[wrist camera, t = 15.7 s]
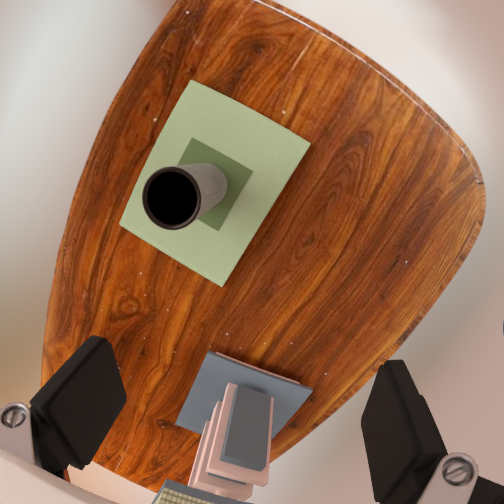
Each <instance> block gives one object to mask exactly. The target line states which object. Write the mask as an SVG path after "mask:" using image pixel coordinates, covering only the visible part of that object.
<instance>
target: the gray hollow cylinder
mask: <svg viewBox="0 0 504 504" xmlns="http://www.w3.org/2000/svg"><path fill="white" fill-rule="evenodd" d="M226 191H227V179H226V176H225V174H224V172H223V171H222V170H221V169H220V168H219V167H217V166H216V165H213V164H210V163H197V164H187V165H177V166H168V167H163V168H161V169H158V170H157V171H155V172H154V173H153V174H151V176H150V177H149V178H148V179H147V181H146V183H145V185H144V188H143V192H142V203H143V208H144V210H145V213H146V214H147V216H148V218H149V219H150V220H151V221H152V222H153V223H154V224H155V225H157V226H159V227H161V228H163V229H166V230H179V229H183V228H185V227H187V226H188V225H190V224H191V223H193V222H194V221H195V220H197V219H198V218H199V217H200V216H202V215H203V214H204V213H206V212H207V211H208V210H210V209H211V208H213V207H214V206H215V205H217V204H218V203H219V202H220V201H221V200H222V199H223V198H224V196H225V194H226Z"/></svg>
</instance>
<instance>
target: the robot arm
mask: <svg viewBox="0 0 504 504" xmlns="http://www.w3.org/2000/svg"><path fill="white" fill-rule="evenodd" d="M126 399H127V396H126V392H125V389H124V386H123V383H122V380H121V376H120V373H119V370H118V366H117V363H116V359H115V356H114V352H113V349H112V345H111V344H110V343H109V342H108V340H107V339H106V338H103V337H98V336H94V335H93V336H90V337H89V338H88V339H87V340H86V341H85V342H84V343H83V344H82V345H81V346H80V347H79V348H78V349H77V350H76V352H75V353H74V354H73V355H72V356H71V357H70V358H69V359H68V360H67V361H66V362H65V363H64V364H63V365H62V366H61V367H60V369H59V370H58V371H57V372H56V373H55V374H54V375H53V376H52V377H51V378H50V379H49V380H48V382H47V383H46V384H45V385H44V386H43V387H42V388H41V389H40V390H39V392H38V393H37V394H36V395H35V396H34V397H33V398H32V399H31V401H30V404H31V407H30V408H28V407H27V405H25V404H24V403H21V402H12V403H9V404H7V405H5V406H4V407H3V408H2V409H1V410H0V504H118V503H115V502H113V501H110V500H107V499H105V498H102V497H100V496H97V495H95V494H93V493H91V492H88V491H86V490H84V489H82V488H79V487H77V486H75V485H73V484H71V483H70V479H69V475H68V471H67V467H68V465H69V464H70V465H71V466H73V467H75V468H78V469H80V470H83V468H84V467H85V465H88V464H90V462H91V461H92V459H93V457H94V455H95V454H96V452H97V450H98V449H99V447H100V445H101V443H102V442H103V440H104V438H105V437H106V435H107V433H108V432H109V430H110V428H111V426H112V425H113V423H114V421H115V420H116V418H117V416H118V415H119V413H120V411H121V410H122V408H123V406H124V405H125V403H126ZM361 428H362V432H363V437H364V442H365V447H366V453H367V458H368V464H369V469H370V475H371V481H372V487H373V493H374V499H375V501H376V502H380V504H504V486H502V485H500V484H497V483H495V482H492V481H490V480H487V479H485V478H482V477H480V476H478V472H479V471H478V466H477V464H476V462H475V460H474V459H473V458H472V457H471V456H469V455H467V454H465V453H459V452H457V453H451V454H448V453H447V450H446V447H445V445H444V443H443V440H442V438H441V435H440V433H439V430H438V428H437V426H436V423H435V421H434V419H433V416H432V414H431V412H430V410H429V407H428V405H427V403H426V401H425V399H424V397H423V396H422V395H419V393H418V390H417V388H416V386H415V384H414V382H413V380H412V377H411V375H410V373H409V371H408V369H407V367H406V365H405V363H404V361H403V360H387V361H385V363H384V365H380V366H379V369H378V372H377V375H376V379H375V381H374V385H373V387H372V390H371V393H370V396H369V399H368V402H367V404H366V407H365V410H364V412H363V415H362V418H361Z"/></svg>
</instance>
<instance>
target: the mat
mask: <svg viewBox="0 0 504 504" xmlns="http://www.w3.org/2000/svg"><path fill="white" fill-rule="evenodd" d="M310 144H311V143H309V142H308V141H306V140H305V139H303V138H301V137H300V136H298V135H296V134H295V133H293V132H291V131H290V130H288V129H286V128H285V127H283V126H281V125H279V124H278V123H276V122H274V121H272V120H271V119H269V118H267V117H265V116H263V115H262V114H260V113H258V112H256V111H254V110H252V109H251V108H249V107H247V106H245V105H243V104H241V103H239V102H237V101H235V100H233V99H231V98H229V97H227V96H225V95H223V94H221V93H219V92H217V91H215V90H213V89H211V88H209V87H207V86H204V85H202V84H200V83H198V82H196V81H193V80H190V82H189V84H188V85H187V87H186V89H185V90H184V92H183V94H182V96H181V97H180V99H179V101H178V102H177V104H176V106H175V108H174V109H173V111H172V113H171V115H170V117H169V118H168V120H167V122H166V124H165V126H164V128H163V130H162V132H161V133H160V135H159V137H158V139H157V141H156V143H155V145H154V147H153V149H152V151H151V153H150V155H149V157H148V159H147V161H146V164H145V166H144V168H143V170H142V172H141V174H140V176H139V179H138V181H137V183H136V185H135V187H134V190H133V192H132V194H131V197H130V199H129V201H128V204H127V206H126V208H125V211H124V213H123V216H122V218H121V221H120V223H119V225H121V226H122V227H124V228H125V229H127V230H129V231H130V232H132V233H133V234H135V235H137V236H138V237H140V238H141V239H143V240H144V241H146V242H148V243H149V244H151V245H152V246H154V247H156V248H157V249H159V250H161V251H162V252H164V253H165V254H167V255H169V256H170V257H172V258H174V259H175V260H177V261H179V262H180V263H182V264H184V265H185V266H187V267H189V268H190V269H192V270H194V271H195V272H197V273H199V274H200V275H202V276H204V277H205V278H207V279H209V280H211V281H212V282H214V283H216V284H217V285H219V286H221V287H223V285H224V284H225V282H226V280H227V279H228V277H229V275H230V274H231V272H232V271H233V269H234V267H235V266H236V264H237V262H238V261H239V259H240V257H241V256H242V254H243V253H244V251H245V249H246V248H247V246H248V244H249V243H250V241H251V240H252V238H253V236H254V235H255V233H256V231H257V230H258V228H259V227H260V225H261V223H262V222H263V220H264V219H265V217H266V215H267V214H268V212H269V210H270V209H271V207H272V206H273V204H274V202H275V201H276V199H277V197H278V196H279V194H280V193H281V191H282V189H283V188H284V186H285V185H286V183H287V181H288V180H289V178H290V177H291V175H292V173H293V172H294V170H295V169H296V167H297V165H298V164H299V162H300V160H301V159H302V157H303V156H304V154H305V152H306V151H307V149H308V148H309V146H310ZM197 163H210V164H213V165H216V166H217V167H219V168H220V169H221V170H222V171H223V172H224V174H225V176H226V179H227V191H226V194H225V196H224V198H223V199H222V200H221V201H220V202H219V203H218V204H217V205H215V206H214V207H213V208H211V209H210V210H208V211H207V212H206V213H204V214H203V215H202V216H200V217H199V218H198V219H197V220H195V221H194V222H193V223H191V224H190V225H188V226H187V227H185V228H183V229H179V230H166V229H163V228H161V227H159V226H157V225H155V224H154V223H153V222H152V221H151V220H150V219H149V218H148V216H147V214H146V213H145V210H144V208H143V203H142V192H143V188H144V185H145V183H146V181H147V179H148V178H149V177H150V176H151V174H153V173H154V172H155V171H157V170H158V169H161V168H163V167H168V166H177V165H187V164H197Z"/></svg>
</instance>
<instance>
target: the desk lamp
mask: <svg viewBox="0 0 504 504" xmlns="http://www.w3.org/2000/svg"><path fill="white" fill-rule="evenodd" d="M312 391H313V388H310V387H307V386H304V385H301V384H300V382H298V381H294V380H291V379H288V378H286V377H283V376H280V375H277V374H274V373H271V372H268V371H266V370H263V369H260V368H257V367H255V366H252V365H249V364H247V363H244V362H241V361H239V360H236V359H234V358H231V357H229V356H226V355H224V354H221V353H219V352H216V353H214V352H211V351H209V350H208V352H207V355H206V357H205V359H204V361H203V364H202V366H201V368H200V370H199V372H198V375H197V377H196V379H195V381H194V383H193V386H192V388H191V390H190V392H189V394H188V397H187V399H186V401H185V403H184V405H183V408H182V410H181V412H180V414H179V416H178V419H177V421H176V423H175V424H176V425H178V426H181V427H183V428H186V429H188V430H191V431H194V432H196V433H199V434H202V437H201V441H200V444H199V448H198V451H197V455H196V458H195V462H194V465H193V468H192V472H191V475H190V479H189V482H188V486H186V485H183V484H180V483H178V482H175V481H172V480H169V479H166V480H165V482H164V484H163V485H162V487H161V489H160V490H159V492H158V494H157V495H156V497H155V499H154V500H153V502H152V504H252V503H247V502H243V501H245V500H247V499H248V498H249V497H251V496H252V489H253V484H254V485H258V486H265V485H266V484H268V473H269V461H270V448H271V440H272V439H273V438H274V437H275V435H276V434H277V433H278V432H279V431H280V430H281V429H282V428H283V426H284V425H285V424H286V423H287V422H288V421H289V419H290V418H291V417H292V416H293V415H294V414H295V412H296V411H297V410H298V409H299V408H300V406H301V405H302V404H303V403H304V401H305V400H306V399H307V398H308V397H309V395H310V394H311V393H312ZM237 499H238V500H242V501H238V500H237Z"/></svg>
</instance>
